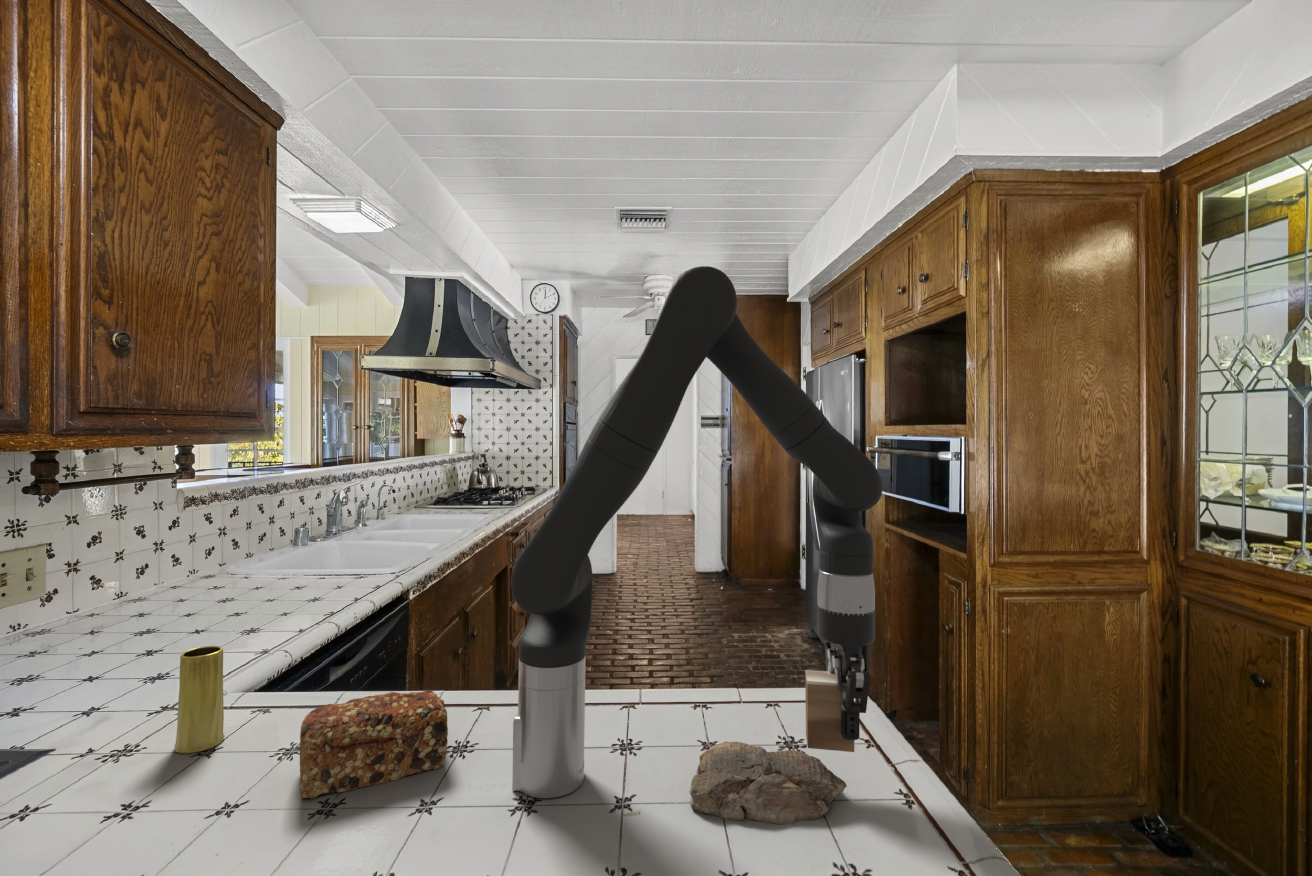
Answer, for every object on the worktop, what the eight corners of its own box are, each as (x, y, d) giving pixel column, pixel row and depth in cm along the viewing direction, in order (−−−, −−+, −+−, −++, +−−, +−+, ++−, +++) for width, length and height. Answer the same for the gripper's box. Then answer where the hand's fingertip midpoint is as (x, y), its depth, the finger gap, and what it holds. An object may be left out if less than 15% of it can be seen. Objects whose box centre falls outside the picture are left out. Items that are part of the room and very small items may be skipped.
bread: (297, 807, 75) (298, 729, 75) (301, 767, 85) (302, 697, 85) (448, 770, 84) (450, 700, 84) (437, 737, 94) (438, 674, 94)
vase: (175, 758, 86) (177, 661, 86) (173, 742, 91) (175, 650, 91) (226, 745, 90) (228, 652, 90) (222, 730, 95) (224, 641, 95)
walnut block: (854, 752, 78) (853, 683, 78) (807, 748, 79) (807, 680, 79) (850, 737, 82) (849, 672, 82) (805, 733, 83) (805, 669, 83)
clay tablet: (840, 777, 84) (702, 757, 88) (841, 743, 84) (703, 725, 88) (851, 844, 70) (687, 817, 75) (852, 804, 70) (688, 779, 75)
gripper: (892, 619, 73) (891, 758, 73) (858, 591, 87) (857, 707, 87) (831, 618, 73) (830, 756, 73) (807, 590, 88) (806, 705, 87)
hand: (845, 728), depth 80 cm, fingers closed on walnut block, 4 cm apart
